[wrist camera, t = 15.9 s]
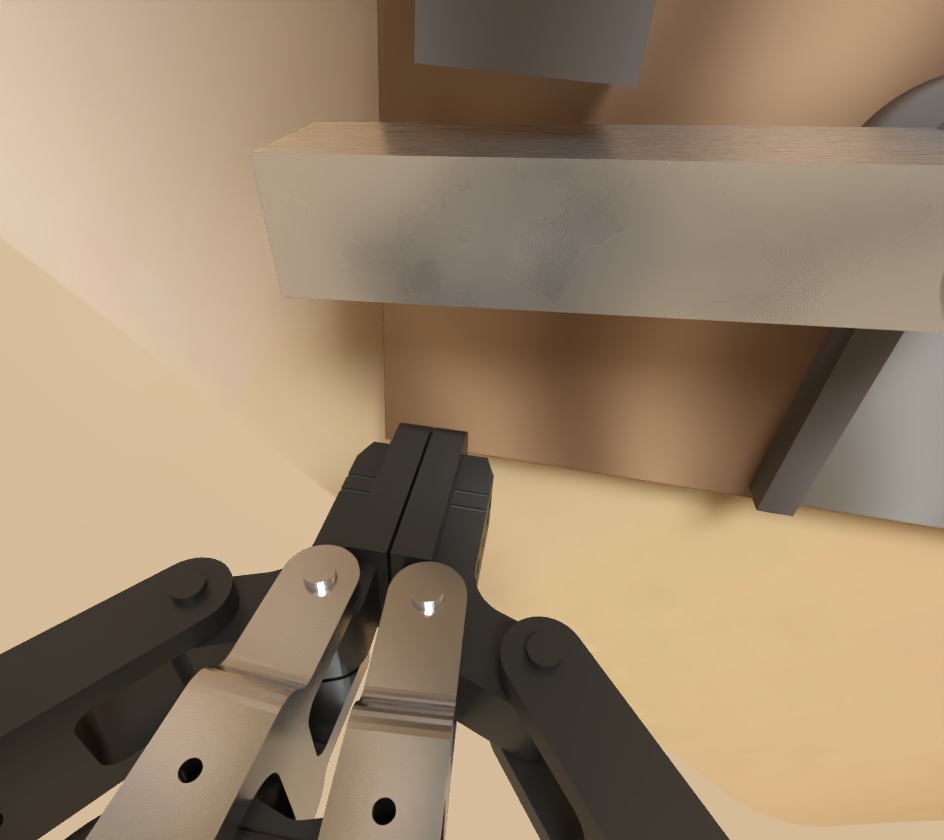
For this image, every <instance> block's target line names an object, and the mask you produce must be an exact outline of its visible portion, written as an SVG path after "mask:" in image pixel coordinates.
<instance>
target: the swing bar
mask: <svg viewBox="0 0 944 840" xmlns="http://www.w3.org/2000/svg"><path fill="white" fill-rule="evenodd" d="M250 157H251V162H252V166H253V170H254V175H255V179H256V183H257V188H258V192H259V196H260V201H261V205H262V210H263V214H264V218H265V223H266V227H267V231H268V236H269V240H270V244H271V249H272V253H273V258H274V262H275V266H276V271H277V275H278V279H279V284H280V288H281V292H282V297H288V298H307V299H325V300H344V301H362V302H381V303H399V304H418V305H436V306H455V307H473V308H492V309H511V310H529V311H548V312H566V313H585V314H603V315H622V316H640V317H659V318H677V319H696V320H714V321H733V322H751V323H770V324H788V325H807V326H825V327H844V328H862V329H881V330H899V331H918V332H937V333H944V123H942V124H940V125H939V126H937V127H936V128H906V127H810V126H715V125H619V124H523V123H427V122H331V121H316V122H314V123H312V124H310V125H308V126H306V127H303V128H301V129H299V130H297V131H295V132H293V133H291V134H289V135H286V136H284V137H282V138H280V139H278V140H276V141H274V142H271V143H269V144H267V145H265V146H263V147H261V148H259V149H257V150H254V151H252V152H250Z"/></svg>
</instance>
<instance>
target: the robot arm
mask: <svg viewBox="0 0 944 840" xmlns="http://www.w3.org/2000/svg"><path fill="white" fill-rule="evenodd" d="M467 451H468V432H467V431H460V430H452V429H445V428H438V427H435V428H434V427H430V426H423V425H416V424H409V423H400V424H399V426H398V428H397V430H396V432H395V435H394V437H393V439H392V441H391V444H386V443H379V442H373V443H372V444H371V445H370V446H368V447H367V448H366V449H365V450H364V451H362V452H361V453H360V454H359V455H358V456H357V457H356V459H355V461H354V463H353V465H352V467H351V469H350V471H349V475H348V477H346V480H345V482H344V484H343V486H342V489H341V491H340V492H339V494H338V496H337V498H336V500H335V502H334V504H333V506H332V508H331V510H330V512H329V514H328V516H327V518H326V520H325V522H324V524H323V526H322V528H321V530H320V532H319V534H318V536H317V538H316V540H315V542H314V544H313V546H312V547H310V548H307V549H305V550H303V551H301V552H299V553H297V554H296V555H295V556H293V557H292V558H291V559H290V560H289V561H288V562H287V563H286V565H285V566H284V568H283V569H280V570H277V571H273V572H267V573H260V574H250V575H242V576H233V577H232V574H231V572H230V571H229V568H228V567H227V566H226V565H225V564H224V563H222V562H221V561H218V560H216V559H212V558H193V559H188V560H185V561H182V562H179V563H177V564H175V565H173V566H171V567H169V568H167V569H165V570H163V571H161V572H159V573H158V574H155V575H153V576H152V577H150V578H148V579H146V580H144V581H142V582H140V583H138V584H136V585H134V586H132V587H130V588H128V589H127V590H124V591H122V592H121V593H118V594H116V595H115V596H113V597H111V598H109V599H107V600H105V601H103V602H101V603H99V604H97V605H95V606H93V607H91V608H89V609H87V610H85V611H83V612H81V613H80V614H78V615H76V616H74V617H72V618H70V619H68V620H66V621H64V622H62V623H60V624H58V625H56V626H54V627H52V628H50V629H49V630H46V631H45V632H43V633H41V634H39V635H37V636H35V637H33V638H31V639H29V640H27V641H25V642H23V643H21V644H20V645H17V646H15V647H13V648H12V649H10V650H8V651H6V652H4V653H2V654H0V840H37V839H39V838H40V837H42V836H43V835H45V834H46V833H48V832H49V831H51V830H52V829H53V828H55V827H56V826H58V825H59V824H61V823H62V822H64V821H65V820H66V819H68V818H69V817H71V816H72V815H74V814H75V813H77V812H78V811H80V810H81V809H83V808H84V807H85V806H87V805H88V804H90V803H91V802H93V801H94V800H96V799H97V798H98V797H100V796H101V795H103V794H104V793H106V792H107V791H109V790H110V789H112V788H113V787H114V786H116V785H117V784H119V783H120V782H122V781H123V780H124V781H123V783H122V785H121V786H120V788H119V789H118V791H117V792H116V794H115V795H114V797H113V798H112V800H111V801H110V803H109V804H108V806H107V807H106V809H105V810H104V812H103V813H102V815H100V816H98V817H97V818H95V819H93V820H92V821H90V822H88V823H87V824H85V825H84V826H83V827H81V828H80V829H78V830H77V831H76V832H74V833H73V834H71V835H70V836H69V837H67V838H66V839H65V840H445V834H446V824H447V814H448V802H449V792H450V782H451V772H452V763H453V752H454V743H455V734H456V725H457V721H458V722H459V723H461V724H463V725H464V726H466V727H468V728H469V729H471V730H473V731H474V732H476V733H477V734H479V735H481V736H482V737H484V738H486V739H487V740H489V741H490V743H491V746H492V749H493V751H494V753H495V755H496V757H497V759H498V761H499V763H500V764H501V766H502V768H503V770H504V772H505V774H506V776H507V778H508V780H509V781H510V783H511V785H512V787H513V789H514V791H515V792H516V795H517V796H518V798H519V800H520V802H521V804H522V806H523V808H524V809H525V811H526V813H527V815H528V817H529V819H530V821H531V823H532V825H533V827H534V828H535V830H536V832H537V834H538V836H539V838H540V840H729V838H728V837H727V836H726V834H725V833H724V832H723V830H722V829H721V828H720V826H719V825H718V824H717V822H716V821H715V820H714V818H713V817H712V816H711V814H710V813H709V812H708V810H707V809H706V807H705V806H704V805H703V803H702V802H701V801H700V800H699V798H698V797H697V795H696V794H695V793H694V792H693V790H692V789H691V788H690V786H689V785H688V783H687V782H686V781H685V779H684V778H683V777H682V775H681V774H680V773H679V771H678V770H677V769H676V767H675V766H674V765H673V763H672V762H671V761H670V759H669V758H668V756H667V755H666V754H665V752H664V751H663V750H662V749H661V747H660V746H659V744H658V743H657V742H656V740H655V739H654V738H653V736H652V735H651V734H650V732H649V731H648V730H647V728H646V727H645V726H644V724H643V723H642V722H641V720H640V719H639V718H638V716H637V715H636V714H635V712H634V711H633V710H632V708H631V707H630V706H629V704H628V703H627V701H626V700H625V699H624V697H623V696H622V695H621V693H620V692H619V691H618V689H617V688H616V687H615V685H614V684H613V683H612V681H611V680H610V679H609V677H608V676H607V675H606V673H605V672H604V671H603V669H602V668H601V667H600V665H599V664H598V663H597V661H596V660H595V659H594V657H593V656H592V655H591V653H590V652H589V651H588V649H587V648H586V646H585V645H584V644H583V642H582V641H581V640H580V638H579V637H578V636H577V635H576V634H575V632H574V631H573V630H571V629H570V628H569V627H568V626H566V625H565V624H563V623H562V622H559V621H557V620H555V619H551V618H548V617H530V618H526V619H523V620H520V621H519V622H518V621H516V620H514V619H512V618H510V617H508V616H506V615H504V614H502V613H500V612H499V611H497V610H495V609H494V608H493V607H491V606H490V605H489V604H488V603H487V602H486V601H485V600H484V599H483V597H482V596H481V594H480V593H479V590H478V588H477V584H478V579H479V574H480V568H481V563H482V558H483V552H484V547H485V542H486V536H487V531H488V526H489V518H490V507H491V497H492V487H493V477H494V475H493V473H492V470H491V467H490V464H489V462H488V459H487V458H483V457H476V456H470V455H467ZM377 627H379V629H378V633H377V637H376V641H375V645H374V650H373V653H372V658H371V662H370V666H369V670H368V674H367V678H366V682H365V686H364V690H363V694H362V696H361V698H360V700H359V701H356V702H355V704H354V706H353V708H352V710H351V713H350V716H349V719H348V723H347V727H346V730H345V735H344V738H343V742H342V746H341V750H340V754H339V758H338V762H337V766H336V770H335V774H334V778H333V782H332V786H331V790H330V793H329V797H328V801H327V805H326V809H325V813H324V817H323V818H318V819H314V817H315V815H316V812H317V809H318V806H319V803H320V799H321V796H322V791H323V786H324V780H325V773H326V769H327V765H328V762H329V759H330V756H331V754H332V751H333V749H334V747H335V744H336V742H337V739H338V737H339V734H340V732H341V729H342V727H343V725H344V722H345V720H346V717H347V715H348V712H349V710H350V707H351V705H352V703H353V700H354V698H355V695H356V693H357V690H358V688H359V685H360V683H361V680H362V678H363V676H364V673H365V670H366V669H367V666H368V662H369V650H370V647H371V644H372V641H373V638H374V635H375V632H376V629H377Z"/></svg>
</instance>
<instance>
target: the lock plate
mask: <svg viewBox="0 0 944 840" xmlns="http://www.w3.org/2000/svg"><path fill="white" fill-rule="evenodd" d="M377 13H378V65H379V117H380V122H427V123H523V124H619V125H715V126H810V127H906V128H936V127H937V126H939V125H940V124H942V123H944V0H377ZM383 325H384V377H385V429H386V439H391V440H392V439H393V437H394V435H395V432H396V430H397V428H398V426H399V424H400V423H409V424H416V425H423V426H430V427H434V428H435V427H438V428H445V429H452V430H460V431H467V432H468V451H467V452H472V453H478V454H484V455H490V456H496V457H503V458H509V459H515V460H521V461H528V462H534V463H540V464H546V465H552V466H559V467H565V468H571V469H577V470H583V471H590V472H596V473H602V474H608V475H615V476H621V477H627V478H633V479H639V480H646V481H652V482H658V483H664V484H670V485H677V486H683V487H689V488H695V489H702V490H708V491H714V492H720V493H726V494H733V495H739V496H745V497H751V498H753V501H754V504H755V507H756V510H758V511H764V512H770V513H777V514H783V515H789V516H793V515H794V513H795V511H796V510H797V508H798V506H799V505H801V506H807V507H813V508H820V509H826V510H832V511H838V512H844V513H851V514H857V515H863V516H869V517H875V518H882V519H888V520H894V521H900V522H907V523H913V524H919V525H925V526H931V527H938V528H944V333H937V332H918V331H899V330H881V329H862V328H844V327H825V326H807V325H788V324H770V323H751V322H733V321H714V320H696V319H677V318H659V317H640V316H622V315H603V314H585V313H566V312H548V311H529V310H511V309H492V308H473V307H455V306H436V305H418V304H399V303H383Z"/></svg>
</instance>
